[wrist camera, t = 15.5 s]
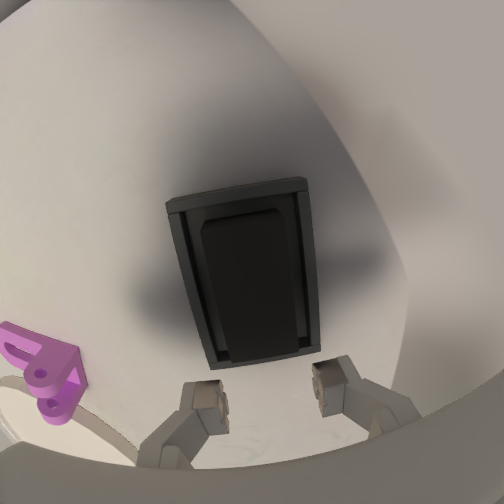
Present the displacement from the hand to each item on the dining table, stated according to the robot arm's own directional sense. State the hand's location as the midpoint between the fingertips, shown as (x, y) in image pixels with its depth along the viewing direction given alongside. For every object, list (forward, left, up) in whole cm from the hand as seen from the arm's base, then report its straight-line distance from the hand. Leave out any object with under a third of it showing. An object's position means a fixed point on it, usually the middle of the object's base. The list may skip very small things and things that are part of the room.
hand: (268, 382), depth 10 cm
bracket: (+17, -19, -11) cm, 28 cm away
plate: (+37, -17, -11) cm, 42 cm away
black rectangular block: (0, 0, -11) cm, 11 cm away
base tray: (0, 0, -11) cm, 11 cm away
